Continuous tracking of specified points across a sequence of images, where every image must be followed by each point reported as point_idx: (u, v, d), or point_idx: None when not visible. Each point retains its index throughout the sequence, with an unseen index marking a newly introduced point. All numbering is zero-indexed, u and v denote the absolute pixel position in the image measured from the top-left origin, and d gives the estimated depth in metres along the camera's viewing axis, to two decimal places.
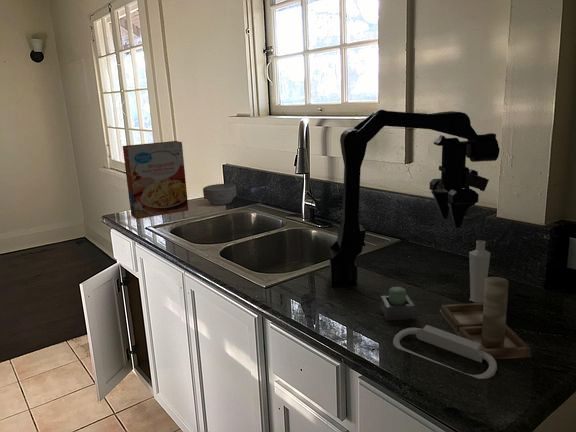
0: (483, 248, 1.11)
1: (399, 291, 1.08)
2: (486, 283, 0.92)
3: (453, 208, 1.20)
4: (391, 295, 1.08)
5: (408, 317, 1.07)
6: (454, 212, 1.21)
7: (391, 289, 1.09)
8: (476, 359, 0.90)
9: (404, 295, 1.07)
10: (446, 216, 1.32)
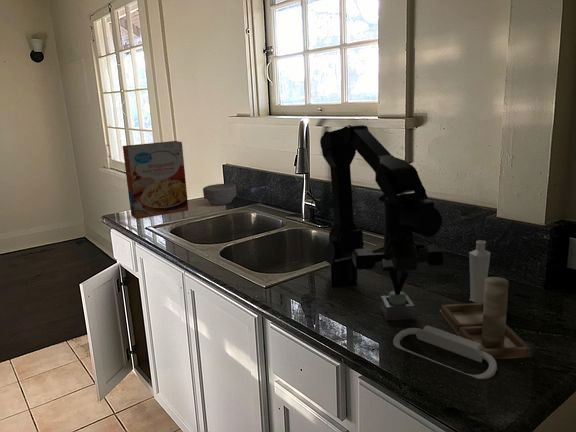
0: (483, 248, 1.11)
1: (399, 295, 1.08)
2: (486, 283, 0.92)
3: None
4: (390, 299, 1.08)
5: (408, 317, 1.07)
6: (387, 272, 1.09)
7: (391, 293, 1.09)
8: (476, 359, 0.90)
9: (404, 299, 1.07)
10: None
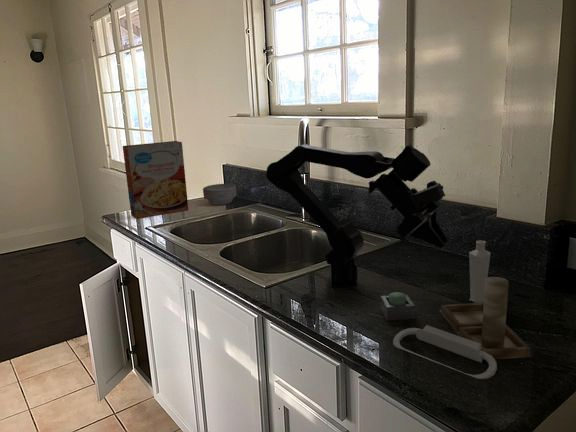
0: (483, 248, 1.11)
1: (399, 296, 1.08)
2: (486, 283, 0.92)
3: (417, 235, 1.14)
4: (390, 300, 1.08)
5: (408, 317, 1.07)
6: (422, 237, 1.14)
7: (391, 294, 1.09)
8: (476, 359, 0.90)
9: (404, 300, 1.08)
10: (445, 239, 1.16)
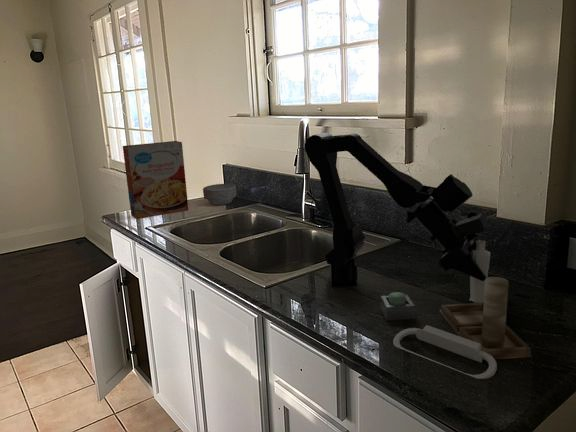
0: (483, 248, 1.11)
1: (399, 296, 1.08)
2: (486, 283, 0.92)
3: (458, 268, 1.10)
4: (390, 300, 1.08)
5: (408, 317, 1.07)
6: (464, 270, 1.10)
7: (391, 294, 1.09)
8: (476, 359, 0.90)
9: (404, 300, 1.08)
10: None
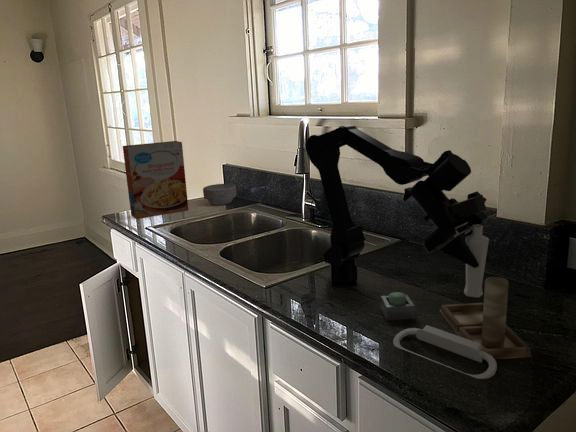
0: (479, 233, 1.01)
1: (399, 296, 1.08)
2: (486, 283, 0.92)
3: (449, 252, 1.02)
4: (390, 300, 1.08)
5: (408, 317, 1.07)
6: (454, 255, 1.02)
7: (391, 294, 1.09)
8: (476, 359, 0.90)
9: (404, 300, 1.08)
10: (486, 257, 1.04)
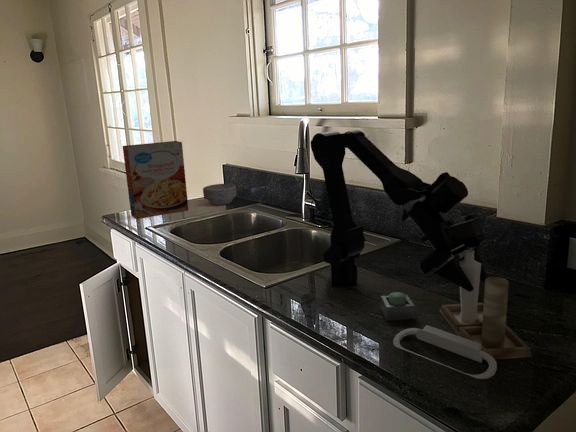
0: (470, 258, 1.01)
1: (399, 296, 1.08)
2: (486, 283, 0.92)
3: (443, 275, 1.02)
4: (390, 300, 1.08)
5: (408, 317, 1.07)
6: (449, 278, 1.02)
7: (391, 294, 1.09)
8: (476, 359, 0.90)
9: (404, 300, 1.08)
10: None
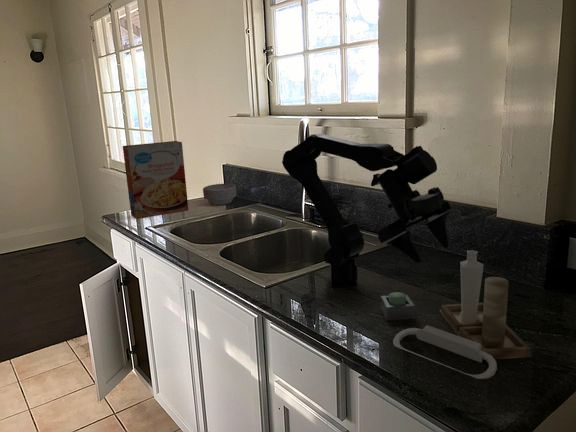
0: (473, 259, 1.01)
1: (399, 296, 1.08)
2: (486, 283, 0.92)
3: (395, 245, 1.11)
4: (390, 300, 1.08)
5: (408, 317, 1.07)
6: (400, 248, 1.10)
7: (391, 294, 1.09)
8: (476, 359, 0.90)
9: (404, 300, 1.08)
10: (445, 245, 1.13)
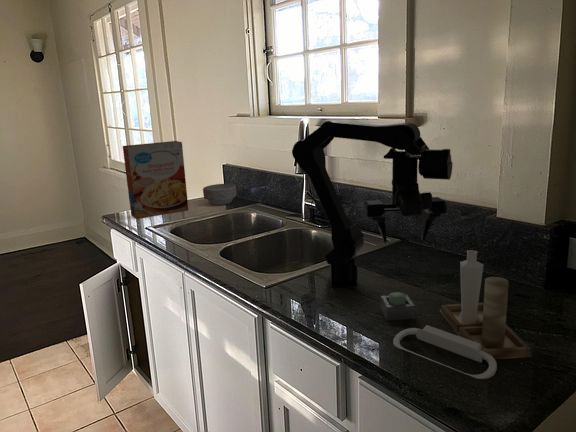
0: (473, 259, 1.01)
1: (399, 296, 1.08)
2: (486, 283, 0.92)
3: None
4: (390, 300, 1.08)
5: (408, 317, 1.07)
6: (377, 223, 1.21)
7: (391, 294, 1.09)
8: (476, 359, 0.90)
9: (404, 300, 1.08)
10: (422, 238, 1.20)
